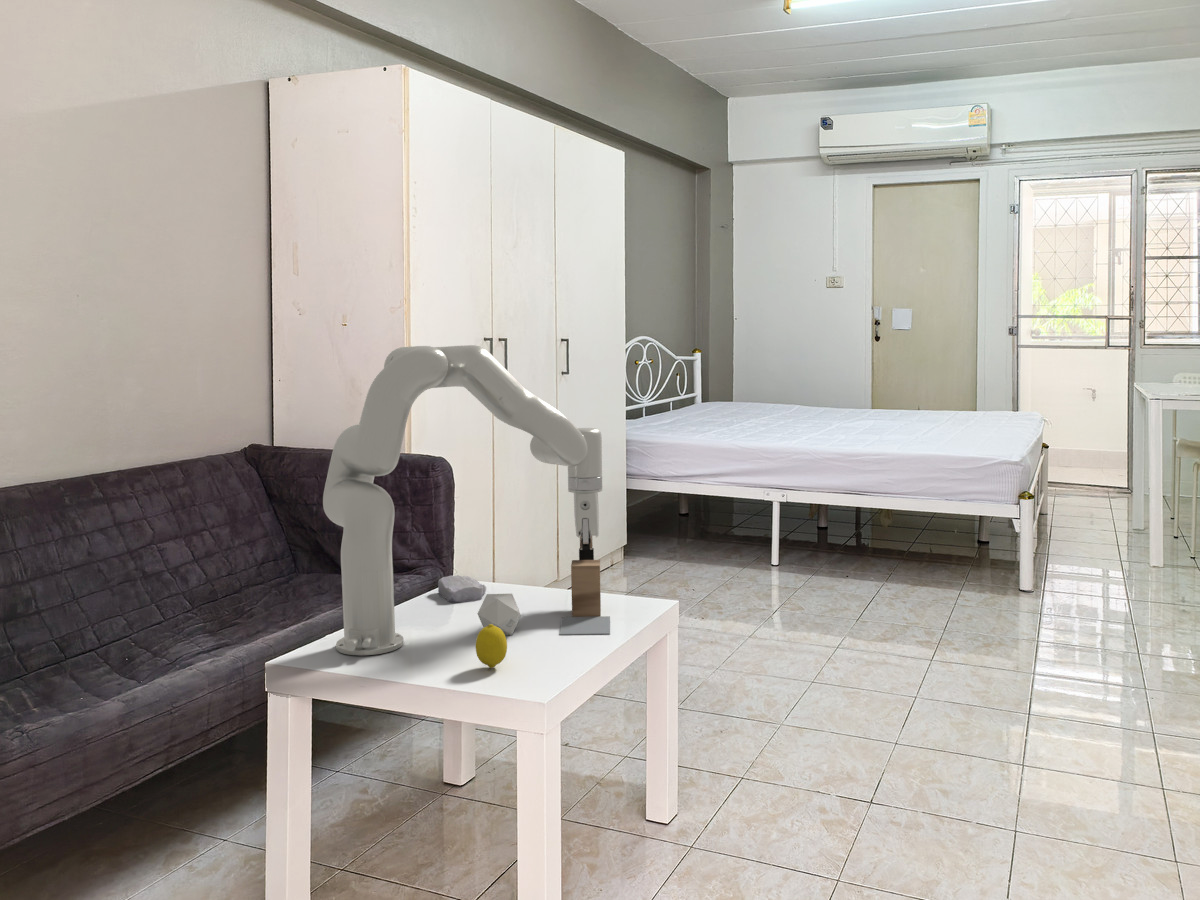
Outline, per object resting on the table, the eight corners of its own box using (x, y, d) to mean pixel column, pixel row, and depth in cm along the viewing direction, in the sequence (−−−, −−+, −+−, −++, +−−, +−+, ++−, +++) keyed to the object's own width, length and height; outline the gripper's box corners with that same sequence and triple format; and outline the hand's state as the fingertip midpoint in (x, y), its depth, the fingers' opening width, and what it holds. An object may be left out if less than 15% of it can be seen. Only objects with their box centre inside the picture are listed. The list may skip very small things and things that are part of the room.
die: (503, 645, 188) (529, 602, 190) (465, 622, 189) (491, 579, 191) (506, 648, 196) (531, 606, 198) (470, 626, 197) (495, 585, 199)
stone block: (473, 595, 233) (433, 592, 228) (477, 576, 232) (437, 572, 228) (490, 609, 222) (448, 605, 218) (493, 588, 222) (451, 585, 217)
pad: (610, 634, 192) (610, 633, 192) (559, 635, 192) (559, 634, 192) (610, 617, 204) (610, 616, 204) (562, 617, 204) (562, 616, 204)
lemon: (508, 663, 175) (507, 619, 174) (506, 673, 170) (505, 628, 169) (477, 663, 175) (476, 620, 174) (474, 673, 169) (473, 628, 169)
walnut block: (600, 617, 205) (599, 565, 204) (572, 617, 205) (571, 566, 204) (600, 609, 211) (599, 559, 210) (573, 609, 211) (572, 559, 210)
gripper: (602, 488, 206) (603, 574, 208) (602, 479, 221) (603, 559, 222) (566, 489, 206) (568, 574, 208) (569, 480, 221) (570, 559, 222)
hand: (586, 566), depth 215 cm, fingers closed
